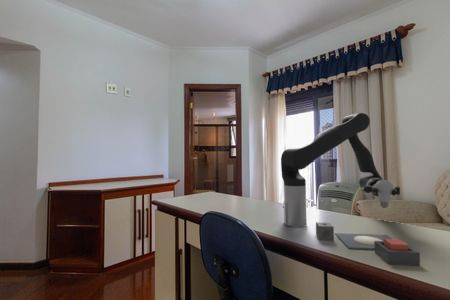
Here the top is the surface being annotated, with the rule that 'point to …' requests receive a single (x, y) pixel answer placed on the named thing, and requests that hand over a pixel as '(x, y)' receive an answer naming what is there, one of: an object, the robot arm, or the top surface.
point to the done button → (395, 244)
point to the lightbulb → (384, 192)
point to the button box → (397, 255)
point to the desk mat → (361, 240)
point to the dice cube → (324, 231)
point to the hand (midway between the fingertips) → (385, 192)
